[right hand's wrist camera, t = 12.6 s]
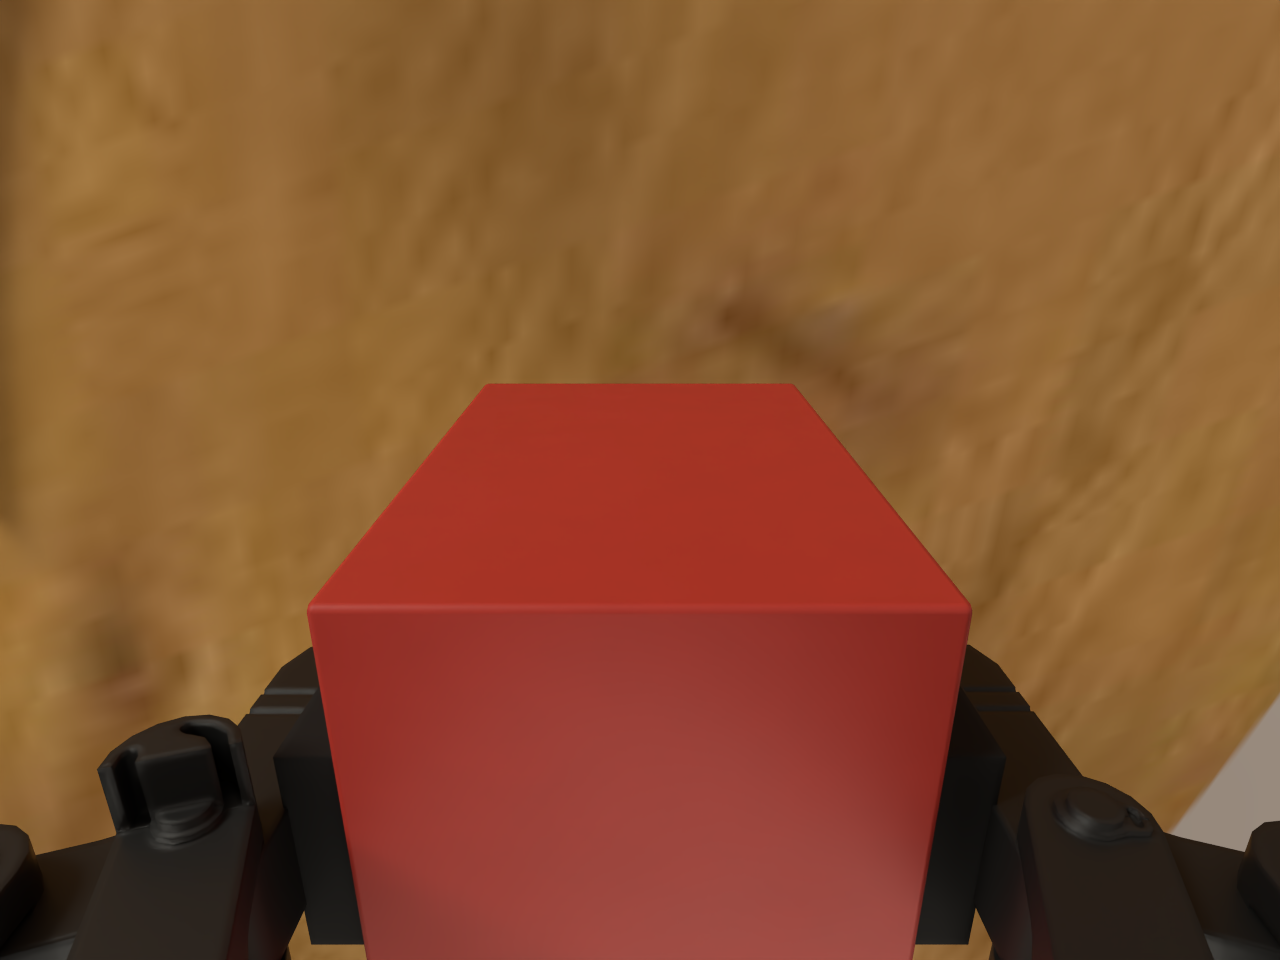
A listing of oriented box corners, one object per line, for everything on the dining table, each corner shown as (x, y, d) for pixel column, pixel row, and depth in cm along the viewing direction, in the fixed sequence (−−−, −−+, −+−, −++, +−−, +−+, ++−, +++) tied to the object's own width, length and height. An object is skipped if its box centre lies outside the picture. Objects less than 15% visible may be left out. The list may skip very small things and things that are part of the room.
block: (795, 382, 15) (976, 606, 7) (774, 670, 18) (893, 1092, 9) (485, 383, 15) (301, 606, 7) (505, 670, 18) (386, 1092, 9)
